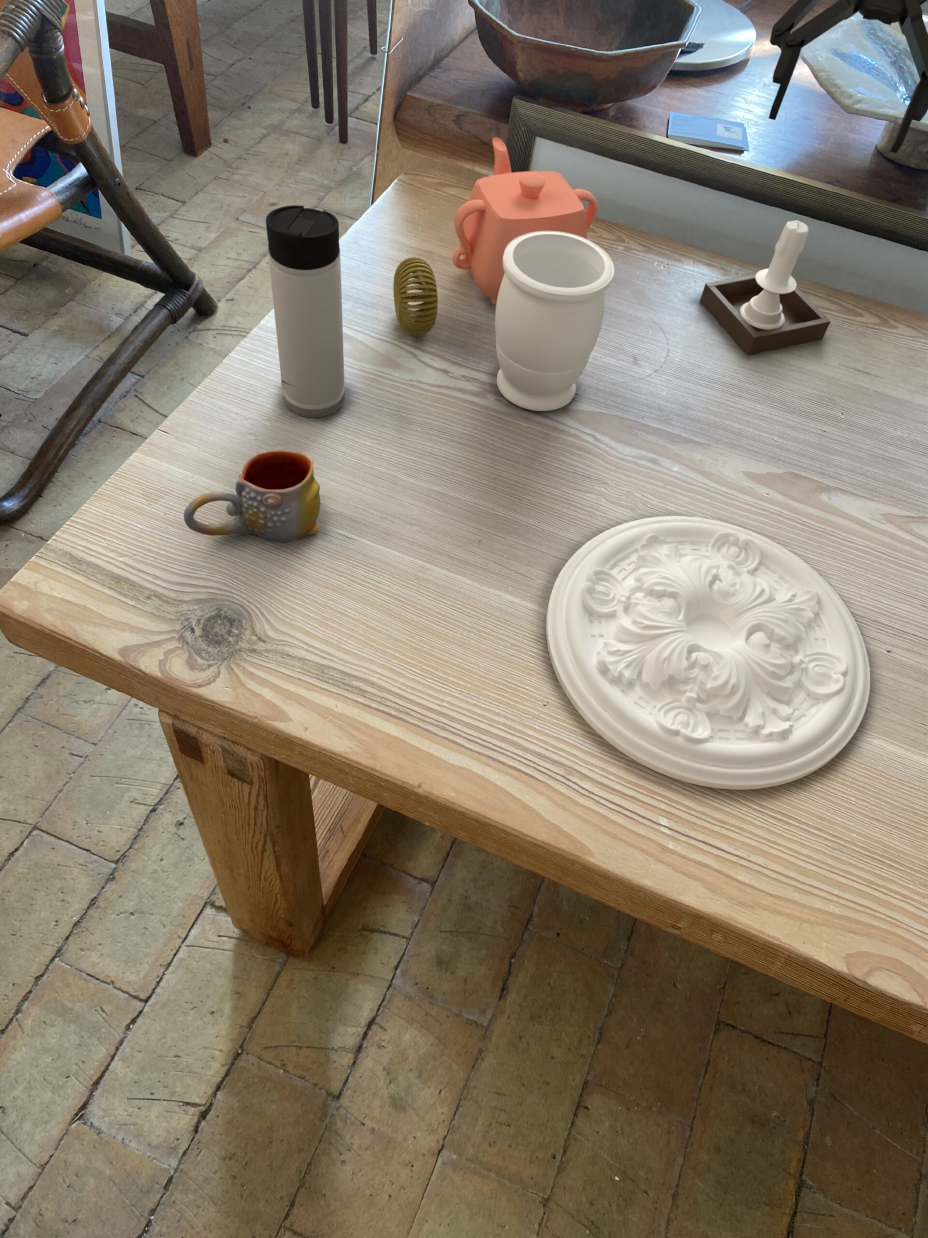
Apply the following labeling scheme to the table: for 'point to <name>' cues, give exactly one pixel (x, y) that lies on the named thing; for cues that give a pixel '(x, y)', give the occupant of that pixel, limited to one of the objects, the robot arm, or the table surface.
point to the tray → (797, 329)
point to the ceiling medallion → (707, 652)
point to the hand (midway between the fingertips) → (833, 130)
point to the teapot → (514, 216)
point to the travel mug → (307, 307)
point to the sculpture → (415, 296)
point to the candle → (776, 279)
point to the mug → (267, 499)
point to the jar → (548, 316)
